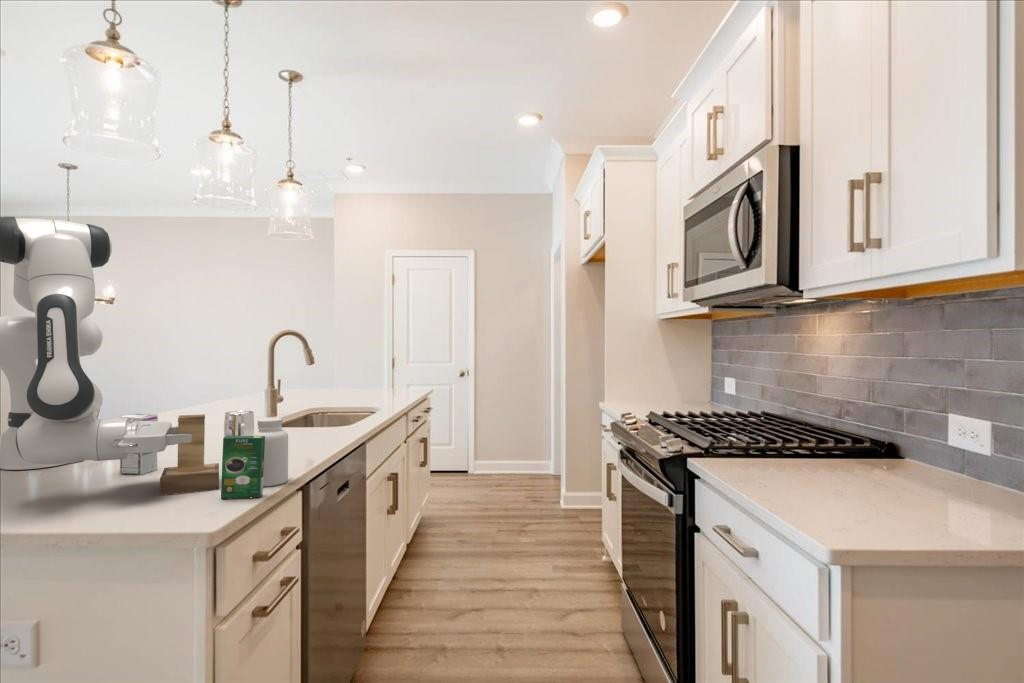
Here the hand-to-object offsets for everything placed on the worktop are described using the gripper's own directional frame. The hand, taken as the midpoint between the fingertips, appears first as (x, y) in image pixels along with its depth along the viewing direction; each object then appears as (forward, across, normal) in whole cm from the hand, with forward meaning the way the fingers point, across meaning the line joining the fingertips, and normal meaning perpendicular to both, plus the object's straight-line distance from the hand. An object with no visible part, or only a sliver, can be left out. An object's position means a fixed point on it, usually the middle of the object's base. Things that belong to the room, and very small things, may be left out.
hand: (192, 434), depth 120 cm
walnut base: (0, 0, +12) cm, 12 cm away
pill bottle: (+16, -4, +12) cm, 20 cm away
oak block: (0, 0, +8) cm, 8 cm away
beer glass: (+10, +12, +12) cm, 20 cm away
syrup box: (-12, +21, +12) cm, 27 cm away
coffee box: (+10, -14, +12) cm, 21 cm away
